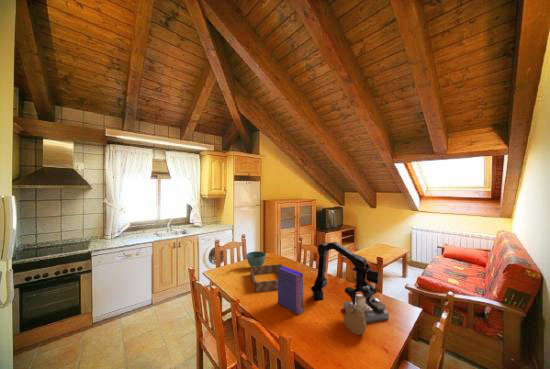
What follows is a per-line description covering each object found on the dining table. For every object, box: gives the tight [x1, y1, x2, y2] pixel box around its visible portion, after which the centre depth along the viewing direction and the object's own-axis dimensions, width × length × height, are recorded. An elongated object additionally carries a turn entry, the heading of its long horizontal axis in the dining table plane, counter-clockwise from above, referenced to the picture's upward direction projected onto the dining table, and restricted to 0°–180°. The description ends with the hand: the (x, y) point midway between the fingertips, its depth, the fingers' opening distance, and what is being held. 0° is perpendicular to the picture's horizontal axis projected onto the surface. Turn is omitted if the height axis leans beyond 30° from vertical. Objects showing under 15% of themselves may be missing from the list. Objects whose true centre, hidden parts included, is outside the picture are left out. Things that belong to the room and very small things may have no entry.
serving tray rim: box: [249, 263, 283, 293], centre depth 169 cm, size 28×30×7 cm
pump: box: [355, 293, 368, 311], centre depth 127 cm, size 6×8×7 cm
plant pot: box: [246, 250, 267, 267], centre depth 197 cm, size 18×18×12 cm
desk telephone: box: [342, 295, 390, 324], centre depth 127 cm, size 20×16×9 cm
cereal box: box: [277, 265, 304, 315], centre depth 134 cm, size 17×5×24 cm, turn 45°
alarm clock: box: [343, 305, 368, 336], centre depth 110 cm, size 11×5×15 cm, turn 47°
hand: (360, 304), depth 126 cm, fingers open, 9 cm apart
